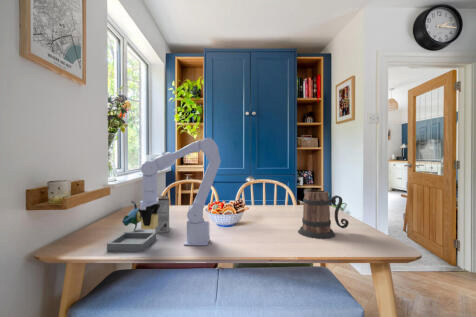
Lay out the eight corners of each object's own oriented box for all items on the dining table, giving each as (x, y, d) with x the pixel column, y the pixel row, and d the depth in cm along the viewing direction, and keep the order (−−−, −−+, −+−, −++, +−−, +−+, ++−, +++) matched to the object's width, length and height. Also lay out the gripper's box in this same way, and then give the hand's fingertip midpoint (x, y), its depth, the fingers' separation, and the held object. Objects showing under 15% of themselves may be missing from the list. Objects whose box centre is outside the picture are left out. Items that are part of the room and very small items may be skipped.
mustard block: (157, 225, 100) (158, 214, 100) (153, 229, 95) (153, 217, 95) (146, 225, 101) (146, 213, 100) (141, 229, 96) (141, 216, 95)
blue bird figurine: (139, 235, 115) (127, 234, 116) (148, 213, 124) (137, 212, 124) (127, 222, 106) (115, 221, 107) (138, 199, 114) (126, 198, 115)
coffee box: (154, 227, 121) (154, 196, 121) (168, 226, 124) (168, 195, 123) (155, 233, 113) (155, 199, 113) (169, 231, 115) (169, 198, 115)
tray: (156, 238, 105) (156, 232, 105) (143, 251, 91) (143, 243, 91) (124, 238, 105) (124, 232, 105) (106, 250, 91) (106, 243, 91)
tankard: (303, 239, 105) (304, 193, 105) (293, 227, 122) (294, 188, 121) (356, 238, 105) (357, 193, 105) (339, 227, 122) (339, 188, 122)
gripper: (147, 188, 105) (147, 219, 105) (132, 193, 91) (131, 228, 91) (163, 188, 105) (162, 219, 105) (150, 193, 91) (150, 229, 91)
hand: (149, 223), depth 98 cm, fingers closed on mustard block, 5 cm apart
